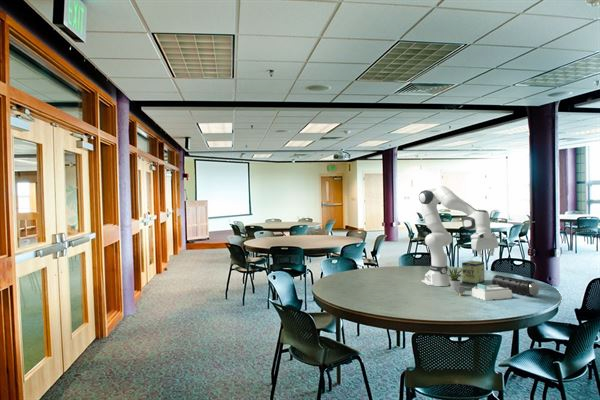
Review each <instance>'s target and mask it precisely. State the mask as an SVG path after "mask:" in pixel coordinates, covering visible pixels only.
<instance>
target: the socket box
mask: <svg viewBox="0 0 600 400" xmlns="http://www.w3.org/2000/svg"><path fill="white" fill-rule="evenodd" d="M485 286H486V287H490V288H494V289H487V290H484V291H483V290H480V289H478V288H477V286H474V287H472V288H471V296H472V297H474V298H477V299H479V298H480V299H479V300H482V299H483V301H494V300H493V299H495V300H504V299H505V298H506V299H513V297H512V296H513V294H512V293H513V292H512V290H509V288H502V287H499V285H493V284H491V285H485Z"/></svg>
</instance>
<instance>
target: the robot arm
mask: <svg viewBox="0 0 600 400" xmlns="http://www.w3.org/2000/svg"><path fill="white" fill-rule="evenodd" d="M418 200H419V202H420V203H421V209H422V215H423V218H424V222H425V226H426V228H427V229H429V230H430V231H431V233H429V234H427V235H426V236H425V237H424V243H425V245H426V246H427V247H428V249H429V251H430V252H429V253H430V258H431V259H430V260H431V261H430V262H431V264H430V265H429V270H428V271H427V272H426V273H425V275H424V279H421V283H424V284H426V285H427V286H435V287H448V286H451V285H450V276H449V275H450V272H449V269H448V268H449V266H448V255H447V253H445V251H444V247H447V246H449V245H451V244H452V242H453V236H452V234H451V233H449V231H448V230H447V229H446V228H445V226H444V224H443V223H442V220H441V217H440V216H441V215H440V213H439V210H438V208H437V207H438V205H442V206H443V207H444V208H446V209H448V210H452V211H459V212H462V213H464V214H466V215H467V216H465V217H463V219H462V221H461V222H462V227H463V228H464V229H465V230H467V231H475V232H474V233H473V234H471V235H470V241H471V242H470V244H471V245H470V246H471V250H472V251H476V252H477V254H478V257H479V258H483V257H484V255H483V254H482V251H484V250H490V252H489V256H494V255H495V254H494V252H495V249H498V248H499V240H498V238H497V235H496V234H495V233H492V228H491V218H490V213H489V211H488V210H485V209H475V208H474V207H473V206H472V205H471V204H470V203H467V202H466V201H464V199H462V198H460V197H459V196H458V195H456V194H455V193H454V192H453V191H452V190H451V189H450V188H448V187H447V186H445V185H439V186H438V187H436V188H431V189H425V190H422V191H420V193H419V195H418ZM447 267H448V268H447Z"/></svg>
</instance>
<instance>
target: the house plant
mask: <svg viewBox="0 0 600 400" xmlns="http://www.w3.org/2000/svg"><path fill="white" fill-rule="evenodd" d="M452 267H453V268H452V270H451V268H449V266H448V267H447V268H448V272H449V280H450V285H449V286H450V289H452V290H453V291H454V290H455V291H456V286H458V285H461V280H460V279H459V278H460V277H462V270H465V269H462V268H461V269H460V270H459V271H458V266H456V267H454V266H452ZM463 277H464V276H463ZM450 278H451V279H450Z"/></svg>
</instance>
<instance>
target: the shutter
mask: <svg viewBox="0 0 600 400" xmlns="http://www.w3.org/2000/svg"><path fill="white" fill-rule="evenodd" d="M486 286H487V285H484V284H483V283H480V284H477V285H476V287H477V288H478V289H480V290H483V291H484V290H487V289H494V288H490V287H486Z"/></svg>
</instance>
